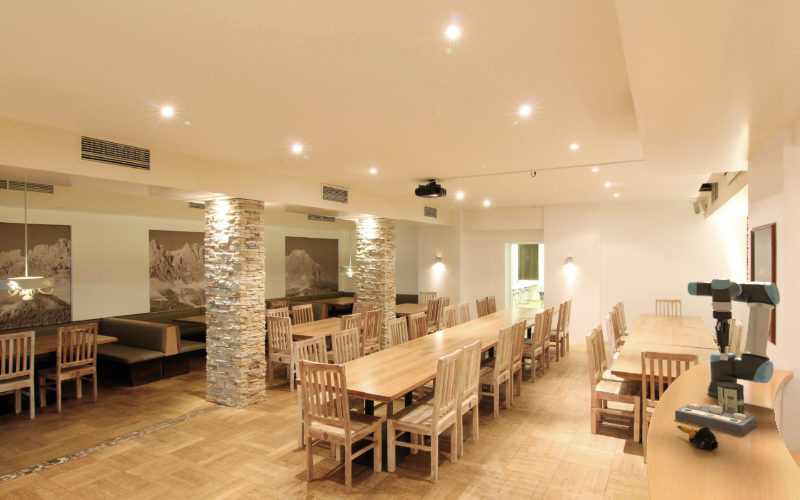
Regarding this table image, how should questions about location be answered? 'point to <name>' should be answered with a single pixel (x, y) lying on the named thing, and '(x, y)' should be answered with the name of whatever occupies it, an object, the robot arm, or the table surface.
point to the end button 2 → (740, 416)
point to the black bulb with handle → (701, 437)
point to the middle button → (716, 409)
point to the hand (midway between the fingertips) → (723, 359)
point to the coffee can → (731, 396)
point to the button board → (716, 419)
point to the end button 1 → (694, 406)
